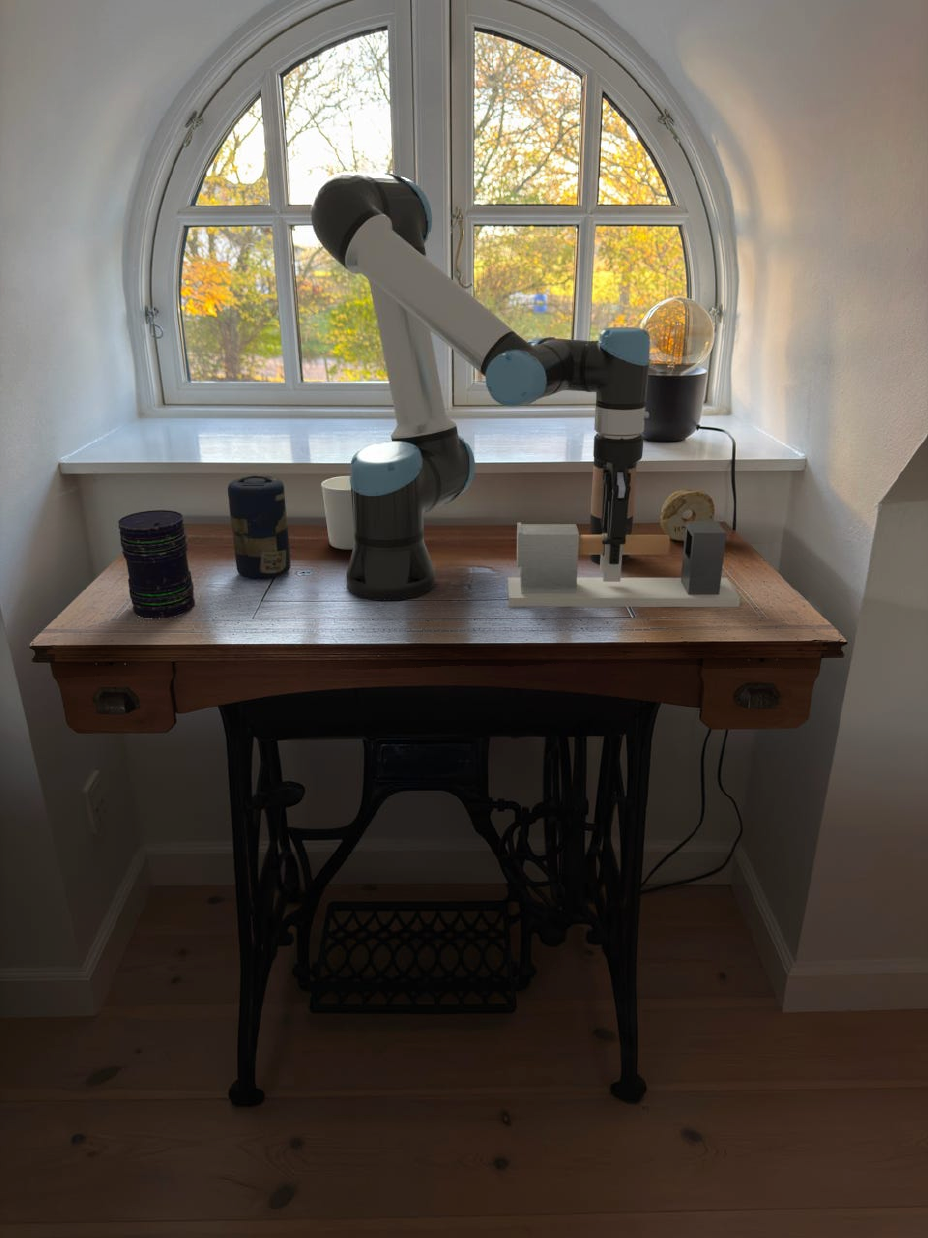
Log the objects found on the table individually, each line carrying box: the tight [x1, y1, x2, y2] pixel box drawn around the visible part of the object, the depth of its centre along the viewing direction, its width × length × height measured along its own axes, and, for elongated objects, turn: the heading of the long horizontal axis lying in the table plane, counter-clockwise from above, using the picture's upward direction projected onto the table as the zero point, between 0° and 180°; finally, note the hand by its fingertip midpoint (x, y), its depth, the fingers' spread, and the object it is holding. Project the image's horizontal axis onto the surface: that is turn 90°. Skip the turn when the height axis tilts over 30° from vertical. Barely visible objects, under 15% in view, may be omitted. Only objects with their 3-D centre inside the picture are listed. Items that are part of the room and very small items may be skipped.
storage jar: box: [117, 509, 196, 620], centre depth 142 cm, size 10×10×15 cm
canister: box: [227, 474, 292, 581], centre depth 154 cm, size 10×10×18 cm
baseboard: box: [507, 577, 741, 608], centre depth 147 cm, size 37×9×2 cm, turn 89°
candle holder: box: [320, 475, 355, 550], centre depth 171 cm, size 10×10×12 cm
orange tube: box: [578, 533, 671, 556], centre depth 144 cm, size 22×4×4 cm, turn 89°
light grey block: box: [516, 522, 580, 594], centre depth 145 cm, size 10×5×10 cm, turn 89°
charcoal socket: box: [680, 520, 727, 595], centre depth 144 cm, size 5×6×10 cm
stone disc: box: [659, 489, 716, 542], centre depth 172 cm, size 10×4×10 cm, turn 97°
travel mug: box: [589, 457, 638, 565], centre depth 160 cm, size 8×8×20 cm
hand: (610, 575), depth 146 cm, fingers closed on orange tube, 4 cm apart
